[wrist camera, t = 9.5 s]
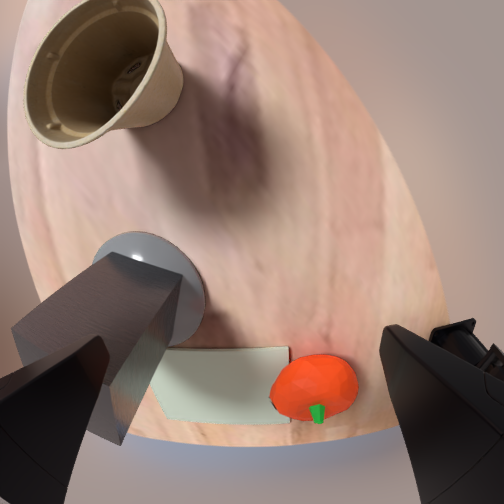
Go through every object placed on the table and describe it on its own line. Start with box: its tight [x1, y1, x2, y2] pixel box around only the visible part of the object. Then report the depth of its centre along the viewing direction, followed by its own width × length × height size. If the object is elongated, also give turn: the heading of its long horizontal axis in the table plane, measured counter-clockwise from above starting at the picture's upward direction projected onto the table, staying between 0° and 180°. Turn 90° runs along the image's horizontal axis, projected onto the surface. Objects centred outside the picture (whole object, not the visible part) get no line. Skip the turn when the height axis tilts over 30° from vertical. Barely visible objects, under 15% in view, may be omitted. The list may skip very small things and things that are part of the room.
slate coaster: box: [92, 231, 205, 347], centre depth 22 cm, size 11×11×1 cm
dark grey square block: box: [11, 251, 183, 446], centre depth 16 cm, size 6×6×12 cm
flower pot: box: [23, 0, 183, 149], centre depth 12 cm, size 9×9×9 cm
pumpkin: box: [268, 355, 359, 424], centre depth 21 cm, size 7×8×6 cm
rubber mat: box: [150, 346, 290, 424], centre depth 25 cm, size 15×12×1 cm
